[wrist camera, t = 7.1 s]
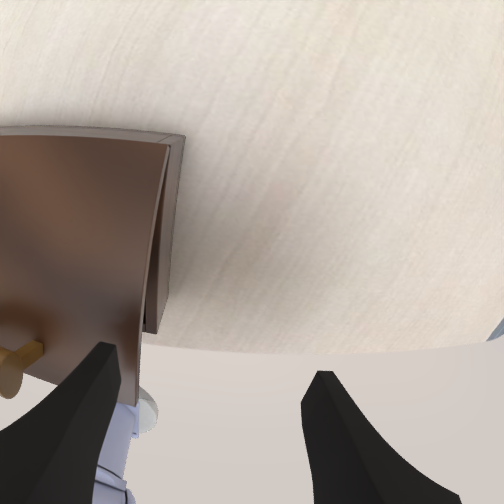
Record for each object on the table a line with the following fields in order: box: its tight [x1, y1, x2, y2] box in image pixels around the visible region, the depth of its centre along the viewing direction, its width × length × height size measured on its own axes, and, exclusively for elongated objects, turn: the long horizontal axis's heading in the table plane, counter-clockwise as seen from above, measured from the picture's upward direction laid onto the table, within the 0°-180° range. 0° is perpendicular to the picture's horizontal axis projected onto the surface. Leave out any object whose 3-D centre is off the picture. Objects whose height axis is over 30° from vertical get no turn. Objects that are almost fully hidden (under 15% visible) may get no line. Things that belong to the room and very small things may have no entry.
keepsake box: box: [0, 126, 185, 334], centre depth 16 cm, size 11×14×4 cm
